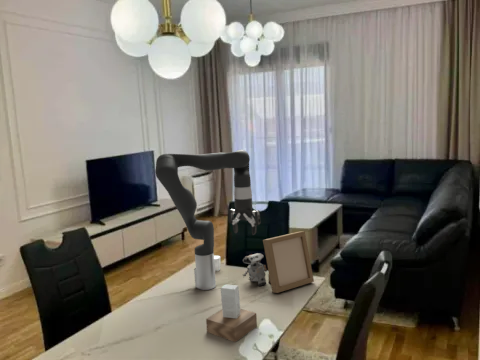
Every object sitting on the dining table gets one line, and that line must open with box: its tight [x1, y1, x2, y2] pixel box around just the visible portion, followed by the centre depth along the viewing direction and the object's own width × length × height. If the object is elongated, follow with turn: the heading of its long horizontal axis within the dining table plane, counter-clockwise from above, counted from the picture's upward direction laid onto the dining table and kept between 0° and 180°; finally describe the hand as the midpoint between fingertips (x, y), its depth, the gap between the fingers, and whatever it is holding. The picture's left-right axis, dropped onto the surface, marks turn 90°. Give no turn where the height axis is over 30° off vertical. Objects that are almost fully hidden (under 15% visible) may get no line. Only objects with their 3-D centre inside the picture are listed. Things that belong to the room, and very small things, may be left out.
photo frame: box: [262, 230, 315, 294], centre depth 212 cm, size 15×22×25 cm
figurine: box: [242, 252, 268, 287], centre depth 215 cm, size 9×12×15 cm
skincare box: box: [220, 283, 241, 319], centre depth 171 cm, size 6×4×12 cm
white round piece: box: [214, 254, 222, 272], centre depth 238 cm, size 7×7×7 cm
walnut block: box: [205, 308, 258, 343], centre depth 172 cm, size 14×14×6 cm
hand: (244, 233), depth 189 cm, fingers open, 8 cm apart
